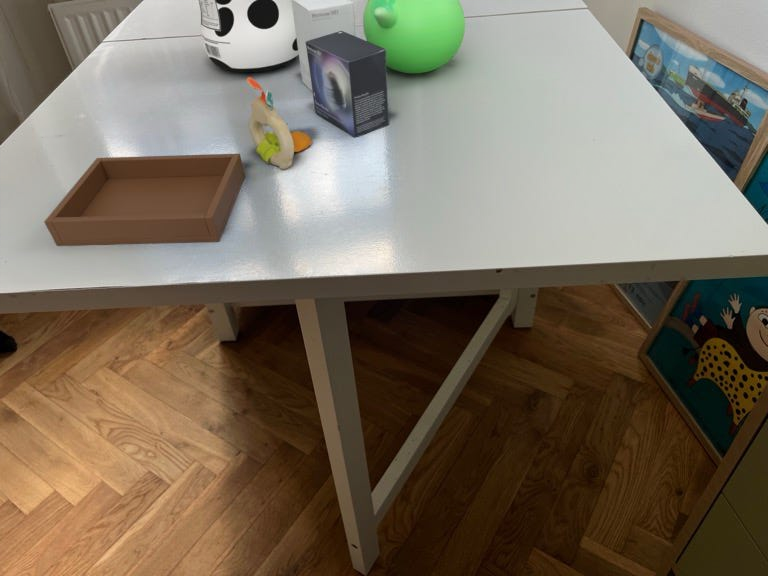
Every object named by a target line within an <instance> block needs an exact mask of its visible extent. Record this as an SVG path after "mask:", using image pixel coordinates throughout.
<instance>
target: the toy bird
mask: <svg viewBox="0 0 768 576" xmlns="http://www.w3.org/2000/svg"><path fill="white" fill-rule="evenodd" d="M362 16H363V17H362V26H363V33H364V37H365V41H368V42H370V43H373V44H375V45H377V46H380V47H382V48H385V49H386V67H388V68H389V69H390V70H391V69H392V70H394V71H397V72H400V73H405V74H423V73H427V72H432V71H434V70H436V69H439V68H440V67H442V66H444V65H445V64H447V63H448V62H449V61H450V60H452V58H454V56H455V55H456V54H457V53H458V51H459V49H460V48H461V45H462V43H463V41H464V38H465V37H464V36H465V31H466V20H465V19H466V18H465V13H464V10H463V6H462V4H461V1H460V0H367V1H366V4H365V6H364V11H363V15H362Z"/></svg>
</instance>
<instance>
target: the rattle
mask: <svg viewBox="0 0 768 576" xmlns="http://www.w3.org/2000/svg"><path fill="white" fill-rule="evenodd" d="M246 81H247V83H248V85H250V86H251V87H252V88H253V89H255V90H258V91H260V92H261V95H259V96H257V97H255V98H254V99H253V100H252V102H251V112H252V113H251V115H250V117H249V120H248V121H249V122H248V129H249V133H250V138H251V139H252V142H253V145H255V147H256V150H255V152H256V153H257V154H258V155H259V156H260V157H261V159H262V160H263V161H264V162H266V163H267V164H268V165H270V164H271V165H273V166H276V167H278V168H280V169H282V170H287V169H288V168H290V167H291V166H292V165H293V158H294V156H295V153H299V152H301V151H304V150H306V149H308V148H309V147H310V146H311V144H312V138H311V136H310V135H308V134H307V133H304V132H302V131H300V130H296V131H292V132H290V129H289V127H288V126H287V123H286V122H285V121H284V120H283V119H282V118H281V116H280V115H279V114H278V112H277V110H276V108H275V106H274V100H273V96H272V95H273V94H272V91H271V90H270V89H269V88H267V89H266V92H265V91H264V90H263V88H262V86H261V85H260V84H259V83H258V82H257V81H256V80H255V79H253V78H252V77H250V76H249V77H247V78H246ZM264 126H265V127H269V128H270V129H271V130H272V131H273V132H270V131H268V130H267V131H266V132H265V131H264Z"/></svg>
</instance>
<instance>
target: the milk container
mask: <svg viewBox="0 0 768 576" xmlns="http://www.w3.org/2000/svg"><path fill="white" fill-rule="evenodd" d="M198 4H199V11H200V35H201V41H202V44H203V48H204V50H205V52H206V55H207V57H208V59H209V60H210V62H212V64H214V65H215V66H216V67H218V68H220V69H223V70H226V71H229V72H238V73H253V72H254V73H256V72H257V73H258V72H264V71H270V70H274V69H278V68H281V67H283V66H286V65H288V64H290V63H292V62H293V61H296V60H297V58H299V53H298V45H297V38H296V30H295V23H294V15H293V8H292V0H198Z"/></svg>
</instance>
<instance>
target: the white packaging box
mask: <svg viewBox="0 0 768 576" xmlns="http://www.w3.org/2000/svg"><path fill="white" fill-rule="evenodd" d="M354 4H355V3H354V2H353V1H352V0H292V8H293V15H294V23H295V30H296V38H297V45H298V53H299V56H298V60H299V67H300V74H301V81H302V83H303V84H304V85H305V86H306V87H307V88H308V89H309V90H310V91H311V92H312V93H313V91H312V84H311V76H310V70H309V62H308V55H307V48H306V43H305V42H306V41H309V40H312V39H316V38H319V37H322V36H325V35H329V34H332V33H335V32H339V31H344V32H346V33H348V34H351V35H353V36H356V35H357V34H356V21H355V20H356V19H355V18H356V17H355V5H354ZM356 37H357V36H356Z"/></svg>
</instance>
